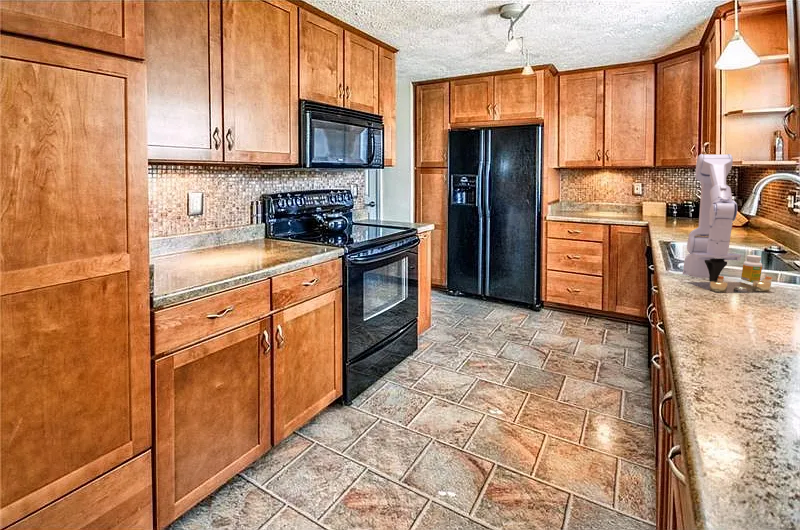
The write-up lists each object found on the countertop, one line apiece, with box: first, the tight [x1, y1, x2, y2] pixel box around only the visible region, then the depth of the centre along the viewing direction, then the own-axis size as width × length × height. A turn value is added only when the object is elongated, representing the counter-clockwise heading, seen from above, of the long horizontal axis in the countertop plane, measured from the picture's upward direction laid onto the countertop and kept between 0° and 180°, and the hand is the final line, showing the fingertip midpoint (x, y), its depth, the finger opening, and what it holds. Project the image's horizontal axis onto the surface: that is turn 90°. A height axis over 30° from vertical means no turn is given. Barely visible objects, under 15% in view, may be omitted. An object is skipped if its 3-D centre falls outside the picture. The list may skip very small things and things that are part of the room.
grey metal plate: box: [687, 281, 775, 294], centre depth 155 cm, size 14×19×3 cm
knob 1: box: [710, 275, 728, 292], centre depth 153 cm, size 11×4×3 cm, turn 143°
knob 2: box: [752, 276, 773, 292], centre depth 153 cm, size 11×4×3 cm, turn 131°
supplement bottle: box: [740, 254, 763, 284], centre depth 166 cm, size 5×5×10 cm
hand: (713, 282), depth 155 cm, fingers closed, pressing on knob 1
